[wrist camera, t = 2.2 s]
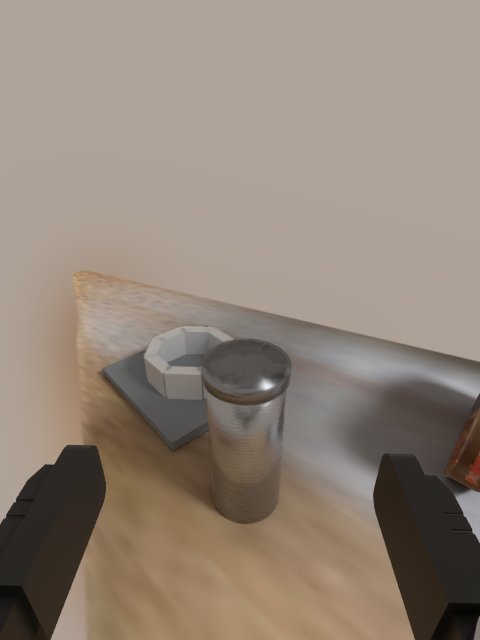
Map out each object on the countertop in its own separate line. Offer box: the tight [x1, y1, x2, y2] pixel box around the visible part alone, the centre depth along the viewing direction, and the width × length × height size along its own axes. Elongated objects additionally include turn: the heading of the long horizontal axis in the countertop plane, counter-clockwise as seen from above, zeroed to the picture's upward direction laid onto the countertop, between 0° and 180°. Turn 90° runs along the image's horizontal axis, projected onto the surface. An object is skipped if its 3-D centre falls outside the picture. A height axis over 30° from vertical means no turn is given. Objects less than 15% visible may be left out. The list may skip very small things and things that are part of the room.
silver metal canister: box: [201, 339, 291, 524], centre depth 26 cm, size 5×5×12 cm
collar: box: [102, 326, 235, 451], centre depth 40 cm, size 14×14×4 cm
